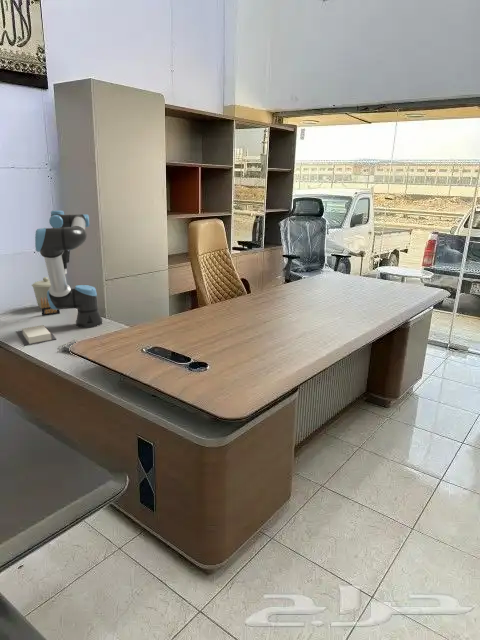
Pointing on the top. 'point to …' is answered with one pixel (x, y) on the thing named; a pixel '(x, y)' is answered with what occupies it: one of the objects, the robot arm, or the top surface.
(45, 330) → the book
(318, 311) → the top surface
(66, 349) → the graphics card
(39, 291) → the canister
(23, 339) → the desk pad
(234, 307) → the top surface
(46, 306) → the ammunition clip
